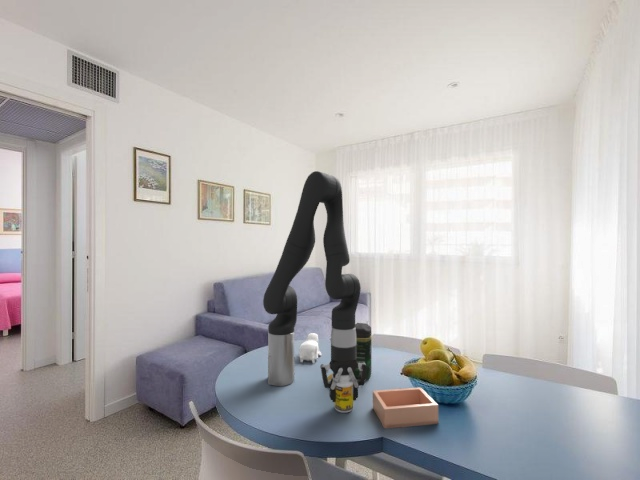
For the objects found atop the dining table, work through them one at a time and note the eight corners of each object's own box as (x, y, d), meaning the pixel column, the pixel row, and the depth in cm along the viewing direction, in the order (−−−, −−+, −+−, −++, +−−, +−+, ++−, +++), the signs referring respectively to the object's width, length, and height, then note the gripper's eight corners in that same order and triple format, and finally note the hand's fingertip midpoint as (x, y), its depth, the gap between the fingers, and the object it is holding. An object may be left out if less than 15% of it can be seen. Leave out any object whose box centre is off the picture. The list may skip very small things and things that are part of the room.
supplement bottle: (332, 411, 86) (332, 376, 86) (337, 402, 92) (336, 368, 92) (351, 415, 85) (351, 378, 85) (355, 405, 90) (354, 370, 90)
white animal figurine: (318, 369, 123) (323, 344, 137) (316, 353, 120) (322, 329, 134) (298, 368, 124) (305, 343, 138) (296, 351, 121) (303, 328, 135)
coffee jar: (370, 382, 105) (369, 329, 105) (347, 379, 107) (347, 327, 107) (373, 371, 114) (372, 322, 114) (352, 368, 116) (352, 320, 116)
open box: (384, 428, 78) (384, 409, 78) (372, 407, 88) (372, 390, 88) (438, 423, 80) (438, 404, 80) (421, 404, 90) (420, 387, 90)
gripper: (321, 347, 84) (321, 408, 83) (371, 345, 86) (371, 404, 85) (317, 339, 91) (318, 395, 91) (363, 337, 93) (364, 392, 93)
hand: (343, 399), depth 88 cm, fingers closed on supplement bottle, 5 cm apart
